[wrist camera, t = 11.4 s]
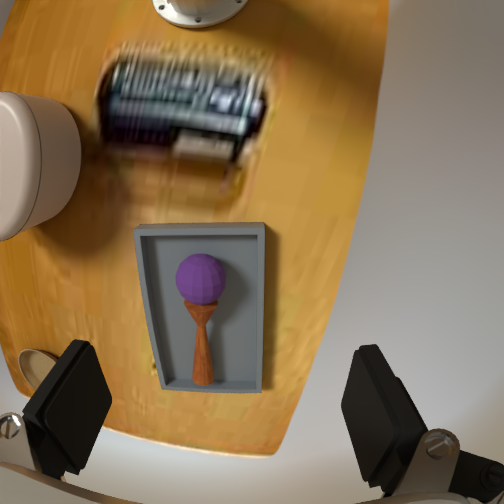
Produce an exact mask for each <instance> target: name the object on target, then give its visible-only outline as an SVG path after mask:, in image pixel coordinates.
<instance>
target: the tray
mask: <svg viewBox="0 0 504 504" xmlns="http://www.w3.org/2000/svg"><path fill="white" fill-rule="evenodd" d="M133 232H134V241H135V249H136V257H137V265H138V272H139V279H140V286H141V292H142V298H143V304H144V310H145V315H146V321H147V326H148V331H149V336H150V341H151V346H152V350H153V355H154V359H155V364H156V368H157V372H158V376H159V380H160V384H161V388H162V389H164V390H176V391H191V392H212V393H262V356H263V313H264V256H265V226H264V222H239V223H168V224H140V225H139V226H137V227H136V228H135V229H133ZM193 254H208V255H211V256H213V257H215V258H216V259H217V260H218V261H219V262H220V263H221V264H222V266H223V268H224V270H225V273H226V285H225V289H224V291H223V292H222V294H221V296H220V297H219V298H218V299H217V301H218V306H217V307H216V309H215V310H214V312H213V314H212V315H211V317H210V319H209V320H208V322H207V324H206V330H207V337H208V343H209V349H210V355H211V361H212V367H213V373H214V381H213V382H212V383H211V384H210V385H207V386H200V385H197V384H196V383H194V382H193V379H192V375H193V363H194V352H195V342H196V332H197V324H196V323H195V321H194V319H193V318H192V316H191V315H190V313H189V312H188V310H187V308H186V307H185V304H184V301H185V298H183V297H182V296H181V294H180V292H179V290H178V289H177V286H176V278H175V275H176V272H177V270H178V268H179V265H180V263H181V262H182V261H183V260H185V259H186V258H187V257H188V256H190V255H193Z"/></svg>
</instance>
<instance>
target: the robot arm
mask: <svg viewBox="0 0 504 504" xmlns="http://www.w3.org/2000/svg"><path fill="white" fill-rule="evenodd" d="M152 2H153V6H154V8H155V10H156V11H157V13H158V14H159V15H160V16H161V18H163V19H164V20H165V21H167V22H169V23H171V24H173V25H176V26H180V27H186V28H202V27H208V26H212V25H215V24H219V23H221V22H223V21H226V20H228V19H230V18H231V17H233V16H234V15H236V14H237V13H238V12H239V11H240V10H241V9H242V8H243V7H244V6H245V4H246V3H247V2H248V0H152ZM162 9H163V10H162ZM199 21H201V22H200V23H198V22H199ZM111 404H112V396H111V393H110V391H109V388H108V386H107V383H106V380H105V378H104V375H103V372H102V369H101V367H100V364H99V361H98V358H97V355H96V352H95V349H94V347H93V346H92V345H91V344H90V343H89V342H88V341H83V340H76V339H75V340H73V341H72V342H71V343H70V345H69V346H68V347H67V349H66V350H65V351H64V353H63V354H62V355H61V357H60V358H59V359H58V361H57V362H56V363H55V365H54V366H53V367H52V369H51V370H50V372H49V373H48V374H47V376H46V377H45V379H44V380H43V381H42V383H41V384H40V386H39V387H38V388H37V390H36V391H35V393H34V394H33V396H32V397H31V399H30V400H29V402H28V403H27V405H26V406H25V408H24V409H23V411H22V412H23V413H24V415H23V416H22V417H21V416H20V415H18V414H16V413H12V412H10V413H5V414H2V415H1V416H0V504H142V503H136V502H132V501H128V500H123V499H119V498H115V497H111V496H107V495H104V494H100V493H97V492H93V491H90V490H87V489H84V488H81V487H78V486H75V485H72V484H69V483H67V482H66V480H65V477H64V473H65V471H67V472H70V473H73V474H76V475H79V472H80V470H81V469H84V468H85V466H86V463H87V461H88V458H89V456H90V453H91V451H92V448H93V446H94V443H95V441H96V438H97V436H98V434H99V432H100V429H101V427H102V425H103V422H104V420H105V418H106V416H107V413H108V411H109V409H110V406H111ZM341 408H342V412H343V415H344V419H345V422H346V425H347V429H348V431H349V435H350V438H351V441H352V445H353V448H354V451H355V455H356V458H357V462H358V465H359V468H360V472H361V475H362V478H363V480H364V481H365V482H366V481H368V483H369V486H370V488H372V487H376V486H381V489H382V491H383V492H384V493H383V495H382V496H381V498H380V499H376V500H371V501H366V502H361V503H356V504H504V465H503V464H501V463H499V462H497V461H493V460H490V459H487V458H484V457H480V456H477V455H474V454H471V453H468V452H465V451H462V450H460V444H459V440H458V439H457V437H456V436H455V435H454V434H453V433H452V432H450V431H448V430H445V429H432V430H430V431H428V429H427V427H426V425H425V423H424V421H423V419H422V417H421V416H420V414H419V412H418V410H417V408H416V407H415V404H414V403H413V401H412V399H411V397H410V395H409V394H408V392H407V390H406V388H405V387H404V385H403V383H402V381H401V380H400V379H399V378H398V377H395V375H394V373H393V371H392V370H391V368H390V366H389V364H388V363H387V361H386V359H385V357H384V356H383V354H382V352H381V351H380V349H379V347H378V346H377V345H376V344H372V345H362V346H360V347H359V350H355V352H354V355H353V359H352V364H351V368H350V372H349V376H348V380H347V384H346V387H345V391H344V394H343V398H342V402H341Z"/></svg>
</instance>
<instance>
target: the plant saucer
mask: <svg viewBox="0 0 504 504" xmlns="http://www.w3.org/2000/svg"><path fill="white" fill-rule="evenodd" d="M57 361H58V359H56V358H55V357H54V356H52V355H50V354H49V353H46V352H44V351H41V350H36V349H25V350H23V351H21V352H20V354H19V357H18V363H19V367H20V370H21V372H22V374H23V376H24V378H25V379H26V381H27V382H28V383H29V385H30V386H31V387H32V388H33V389H34V390H35V391H36V390H37V388H38V387H39V386H40V384H41V383H42V381H43V380H44V379H45V377H46V376H47V374H48V373H49V372H50V370H51V369H52V367H53V366H54V365H55V363H56V362H57Z"/></svg>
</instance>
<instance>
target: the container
mask: <svg viewBox="0 0 504 504" xmlns="http://www.w3.org/2000/svg"><path fill="white" fill-rule="evenodd" d="M80 166H81V142H80V136H79V132H78V129H77V126H76V123H75V121H74V119H73V117H72V115H71V114H70V112H69V111H68V110H67V109H66V108H65V107H64V106H63V105H62V104H61V103H59V102H58V101H56V100H53V99H50V98H44V97H38V96H32V95H25V94H18V93H12V92H7V91H4V92H0V241H4V240H8V239H10V238H12V237H14V236H15V235H17V234H19V233H21V232H23V231H25V230H27V229H29V228H31V227H33V226H36V225H38V224H40V223H42V222H44V221H47V220H49V219H51V218H53V217H54V216H55V215H57V214H58V213H59V212H60V211H61V210H62V209H63V208H64V207H65V206H66V204H67V203H68V201H69V200H70V198H71V196H72V194H73V192H74V189H75V187H76V184H77V181H78V177H79V172H80Z"/></svg>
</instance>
